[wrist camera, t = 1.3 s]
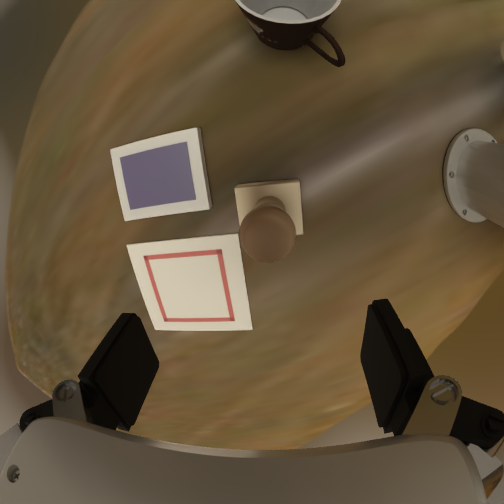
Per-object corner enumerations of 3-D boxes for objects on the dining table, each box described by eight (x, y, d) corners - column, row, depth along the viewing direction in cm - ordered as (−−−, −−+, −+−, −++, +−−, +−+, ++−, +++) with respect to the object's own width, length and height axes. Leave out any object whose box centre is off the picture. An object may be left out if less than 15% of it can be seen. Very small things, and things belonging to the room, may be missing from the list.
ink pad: (200, 127, 27) (196, 127, 25) (212, 206, 30) (209, 209, 29) (116, 148, 28) (109, 149, 27) (130, 217, 32) (124, 221, 30)
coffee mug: (238, 3, 20) (223, -42, 11) (314, -4, 19) (327, -49, 10) (255, 88, 25) (244, 64, 16) (335, 81, 23) (363, 56, 14)
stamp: (297, 178, 28) (310, 203, 18) (300, 225, 30) (313, 275, 20) (238, 183, 29) (215, 212, 18) (244, 229, 31) (227, 281, 20)
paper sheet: (238, 233, 31) (237, 234, 31) (252, 328, 37) (252, 330, 37) (127, 244, 33) (126, 245, 33) (155, 328, 39) (155, 330, 38)
